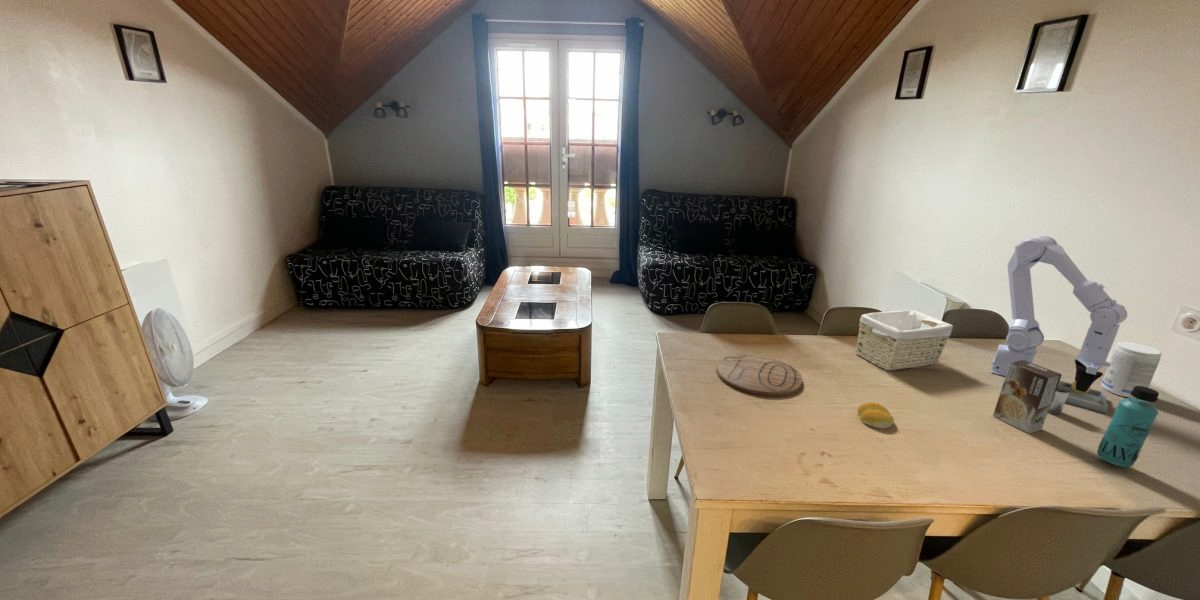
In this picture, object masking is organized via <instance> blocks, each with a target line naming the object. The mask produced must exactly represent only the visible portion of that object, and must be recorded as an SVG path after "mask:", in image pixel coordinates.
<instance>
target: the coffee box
mask: <svg viewBox="0 0 1200 600" xmlns="http://www.w3.org/2000/svg"><path fill="white" fill-rule="evenodd" d="M1061 378H1062V373H1061V372H1057V371H1054V370H1052V369H1049V368H1046V367H1043V366H1041V365H1039V364H1038V365H1037V364H1035V363H1033V362H1032V363H1030V362H1028V361H1025V360H1020V361H1015V362H1014V363H1010V364H1009V368H1008V371H1007V374H1006V376H1004V381H1003V384H1002V386H1001V390H1000V392H999V395H998V399H997V402H996V403H995V404H996V406H995V409H994V411H993V414H992V417H993V418H996V419H998V420H999V421H1003V422H1004V423H1007V424H1008V425H1010V426H1013V427H1015V428H1017V429H1019V430H1021V431H1023V432H1025V433H1027V434H1033V433H1035V432H1038V431H1042V430H1043V427H1044V425H1045V421H1046V419H1047V416H1048V414H1049V413H1048V411H1049V408H1050V405H1051V403H1052V400H1053V397H1054V394H1055V392H1056V389H1057V386H1058V384H1059V381H1061Z"/></svg>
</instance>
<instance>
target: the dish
mask: <svg viewBox="0 0 1200 600" xmlns="http://www.w3.org/2000/svg"><path fill="white" fill-rule="evenodd" d="M1060 382H1063V383H1066V384H1068V385H1070V386H1071V385H1072V383H1073V382H1072V383H1071V382H1067V381H1063V380H1060ZM1065 404H1068V405H1069V404H1070V405H1072V406H1076V407H1080V408H1084V409H1087V410H1091V411H1094V412H1098V413H1102V414H1104V415H1105V414H1107V412H1108V409H1109V405H1108V401H1107V397H1106V393H1105V391H1102V390H1098V389H1096V388H1095V389H1094V388H1091V387H1090V390H1089V392H1087V393H1084V394H1079V393H1076V392H1075V391H1074V390H1073V389H1072V388H1071V391H1070V392H1069V394H1068V397H1067V399H1066V402H1065Z"/></svg>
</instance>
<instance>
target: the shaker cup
mask: <svg viewBox="0 0 1200 600" xmlns="http://www.w3.org/2000/svg"><path fill="white" fill-rule="evenodd" d="M1060 381H1061V380H1060ZM1060 381H1059V384H1058V386H1057V389H1056V392H1055V394H1054V397H1053V400H1052V403H1051V405H1050V408H1049V411H1048V414H1050V415H1054V416H1055V415H1056V416H1059V415H1061V414H1062V412H1063V409H1064V407H1065V404H1066V403H1065V402H1066V399H1067V397H1068V394H1069V392H1070V391H1071V388H1072V387H1071V386H1070V385H1068V384H1066V383H1063V382H1060Z"/></svg>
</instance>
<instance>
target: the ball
mask: <svg viewBox="0 0 1200 600" xmlns="http://www.w3.org/2000/svg"><path fill="white" fill-rule="evenodd" d="M1076 381H1077V380H1076ZM1076 381H1075V380H1074V381H1073V382H1072V385H1071V387H1072V389H1073V390H1074V391H1075V392H1076V393H1079V394H1084V393H1087V392H1089V390H1090V388H1091V386H1090V387H1089V388H1088V390H1087V391H1086V392H1082V391H1078V390H1076Z"/></svg>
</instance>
